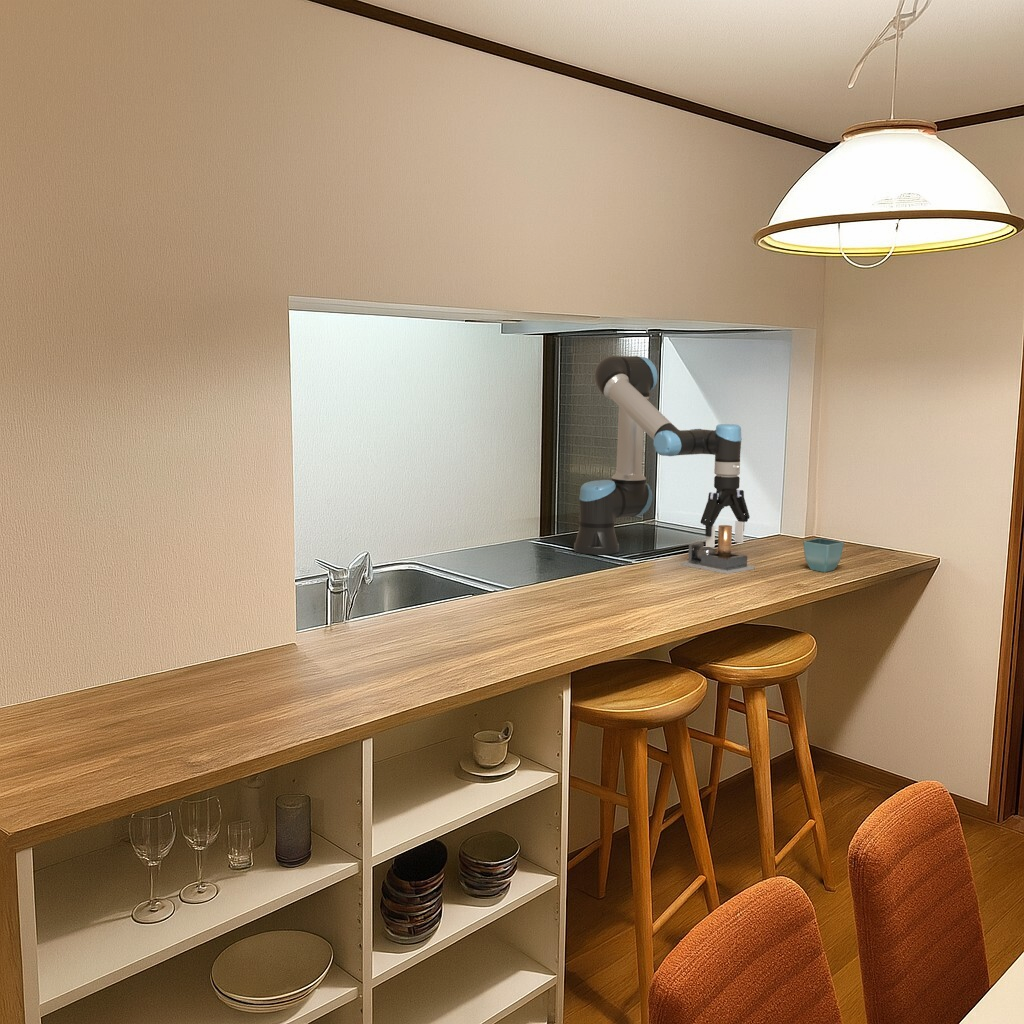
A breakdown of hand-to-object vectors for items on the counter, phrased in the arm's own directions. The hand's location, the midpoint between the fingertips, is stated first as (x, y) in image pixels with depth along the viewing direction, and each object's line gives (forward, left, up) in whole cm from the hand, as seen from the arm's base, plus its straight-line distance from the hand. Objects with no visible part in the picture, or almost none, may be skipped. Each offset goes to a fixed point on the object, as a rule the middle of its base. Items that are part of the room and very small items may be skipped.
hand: (724, 544), depth 298 cm
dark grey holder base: (-3, 0, -7) cm, 8 cm away
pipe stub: (0, 0, -6) cm, 6 cm away
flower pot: (+21, +21, -8) cm, 30 cm away
